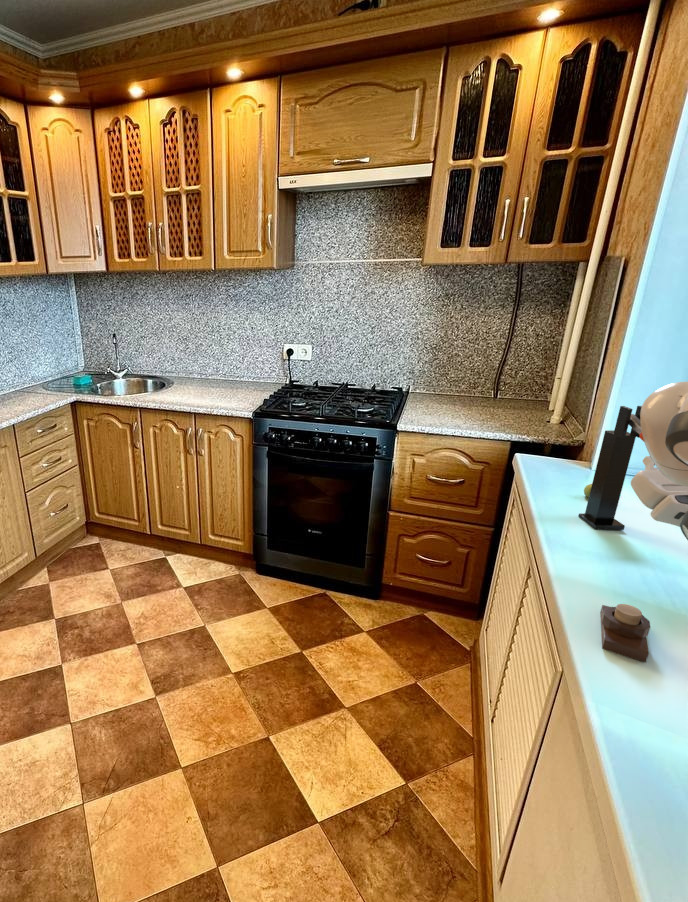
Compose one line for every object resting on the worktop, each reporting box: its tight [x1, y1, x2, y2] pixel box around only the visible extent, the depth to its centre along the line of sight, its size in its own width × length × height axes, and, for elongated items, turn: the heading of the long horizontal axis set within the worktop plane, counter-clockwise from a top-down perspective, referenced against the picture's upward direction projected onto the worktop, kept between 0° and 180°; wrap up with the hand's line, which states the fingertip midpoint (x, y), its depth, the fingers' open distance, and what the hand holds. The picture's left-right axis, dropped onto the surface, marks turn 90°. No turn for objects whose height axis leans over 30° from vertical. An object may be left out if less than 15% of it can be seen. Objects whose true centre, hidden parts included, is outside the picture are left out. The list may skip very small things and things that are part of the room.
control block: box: [599, 604, 651, 663], centre depth 94 cm, size 12×6×4 cm, turn 146°
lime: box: [583, 483, 592, 499], centre depth 147 cm, size 4×5×5 cm
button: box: [614, 603, 643, 625], centre depth 93 cm, size 4×4×2 cm
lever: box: [628, 413, 644, 442], centre depth 120 cm, size 12×3×3 cm, turn 176°
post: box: [578, 405, 642, 531], centre depth 129 cm, size 7×7×31 cm
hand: (671, 457), depth 113 cm, fingers open, 8 cm apart
